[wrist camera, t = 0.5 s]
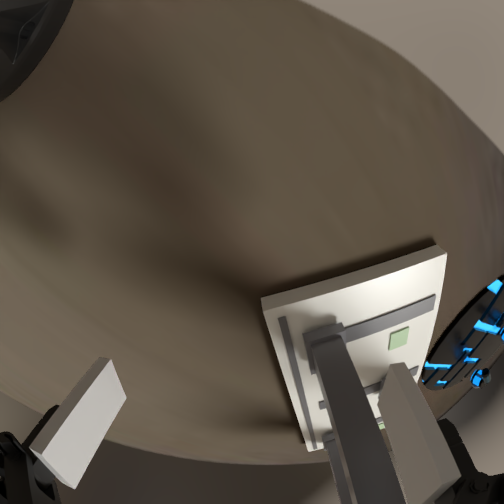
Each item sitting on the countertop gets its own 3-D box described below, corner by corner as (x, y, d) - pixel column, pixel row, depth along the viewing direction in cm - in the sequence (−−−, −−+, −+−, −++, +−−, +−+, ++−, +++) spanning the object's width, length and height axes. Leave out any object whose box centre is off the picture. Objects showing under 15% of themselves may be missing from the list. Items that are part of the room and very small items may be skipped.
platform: (392, 387, 31) (409, 424, 25) (493, 251, 22) (530, 281, 16) (462, 383, 36) (477, 407, 31) (533, 289, 27) (555, 310, 22)
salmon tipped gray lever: (321, 436, 31) (348, 550, 15) (344, 429, 31) (375, 542, 15) (323, 445, 33) (347, 548, 17) (343, 439, 33) (371, 541, 17)
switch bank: (260, 297, 21) (263, 312, 20) (436, 244, 20) (448, 254, 19) (306, 443, 36) (308, 452, 35) (399, 413, 35) (402, 421, 34)
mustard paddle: (302, 333, 21) (366, 573, 4) (341, 321, 20) (429, 548, 4) (308, 366, 23) (359, 565, 6) (343, 356, 23) (409, 547, 6)
